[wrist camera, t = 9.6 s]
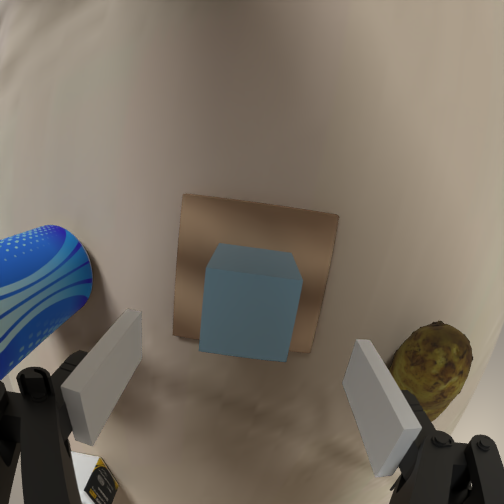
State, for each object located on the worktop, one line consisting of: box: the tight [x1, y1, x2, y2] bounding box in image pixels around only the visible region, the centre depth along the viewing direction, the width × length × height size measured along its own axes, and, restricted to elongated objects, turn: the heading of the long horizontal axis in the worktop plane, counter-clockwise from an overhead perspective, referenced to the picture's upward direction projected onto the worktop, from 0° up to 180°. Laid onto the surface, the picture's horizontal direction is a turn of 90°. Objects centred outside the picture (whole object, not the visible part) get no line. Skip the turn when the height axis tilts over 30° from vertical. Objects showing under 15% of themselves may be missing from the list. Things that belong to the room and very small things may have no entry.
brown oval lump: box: [389, 321, 473, 422], centre depth 25 cm, size 8×13×8 cm, turn 173°
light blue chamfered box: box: [199, 243, 303, 362], centre depth 22 cm, size 6×6×7 cm
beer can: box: [0, 225, 93, 380], centre depth 19 cm, size 8×8×16 cm
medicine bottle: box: [71, 451, 119, 504], centre depth 28 cm, size 7×7×12 cm
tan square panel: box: [173, 194, 339, 353], centre depth 23 cm, size 12×12×6 cm
